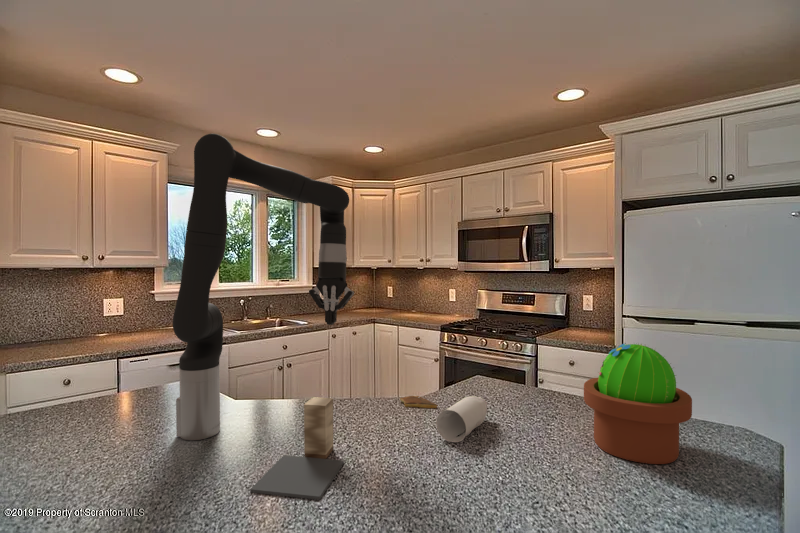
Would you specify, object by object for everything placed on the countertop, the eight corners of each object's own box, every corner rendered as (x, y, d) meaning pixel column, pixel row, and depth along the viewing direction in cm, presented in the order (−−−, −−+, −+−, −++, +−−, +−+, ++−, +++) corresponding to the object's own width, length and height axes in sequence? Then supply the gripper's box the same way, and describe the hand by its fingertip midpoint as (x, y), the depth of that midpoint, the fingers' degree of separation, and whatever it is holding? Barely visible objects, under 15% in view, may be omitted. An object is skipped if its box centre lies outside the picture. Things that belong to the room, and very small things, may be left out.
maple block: (304, 457, 93) (304, 404, 93) (313, 447, 98) (312, 397, 98) (325, 459, 93) (325, 405, 92) (333, 449, 97) (333, 398, 97)
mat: (250, 492, 80) (250, 489, 80) (283, 457, 93) (283, 455, 93) (319, 499, 77) (319, 496, 77) (343, 463, 91) (343, 460, 91)
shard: (438, 409, 124) (438, 403, 124) (417, 415, 120) (417, 409, 120) (416, 399, 133) (416, 393, 133) (396, 404, 129) (396, 398, 129)
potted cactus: (684, 438, 103) (685, 337, 102) (698, 481, 83) (700, 356, 83) (587, 422, 113) (587, 330, 112) (579, 456, 94) (580, 345, 93)
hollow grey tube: (495, 421, 114) (495, 392, 114) (465, 447, 98) (465, 413, 98) (468, 415, 119) (468, 387, 118) (435, 438, 103) (435, 406, 103)
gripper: (304, 260, 112) (302, 324, 111) (351, 260, 109) (349, 327, 109) (315, 261, 119) (313, 322, 119) (359, 262, 117) (358, 324, 116)
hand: (330, 324), depth 114 cm, fingers closed
